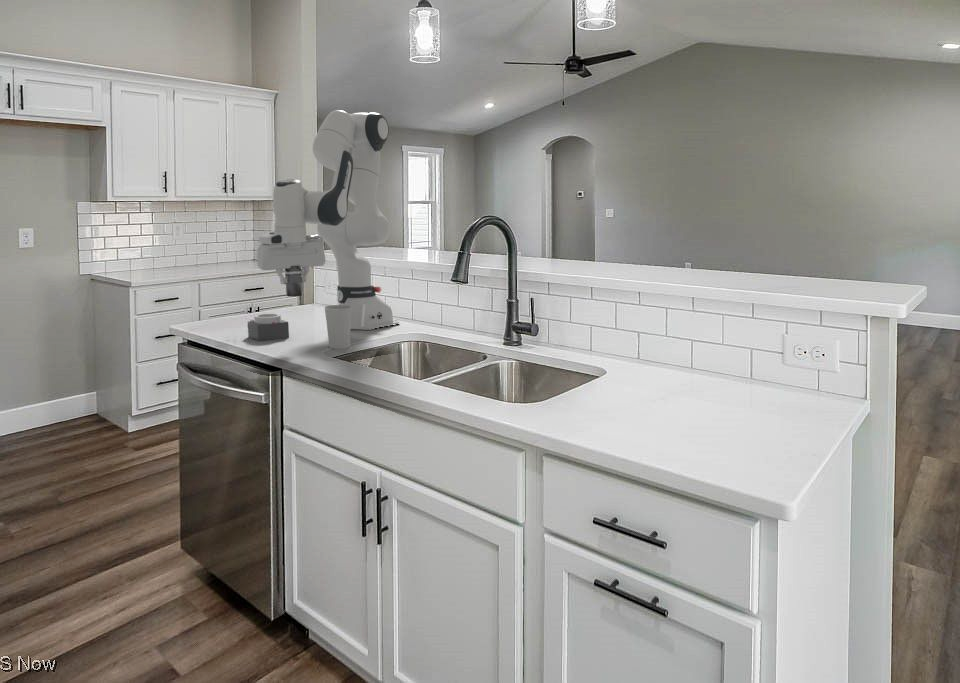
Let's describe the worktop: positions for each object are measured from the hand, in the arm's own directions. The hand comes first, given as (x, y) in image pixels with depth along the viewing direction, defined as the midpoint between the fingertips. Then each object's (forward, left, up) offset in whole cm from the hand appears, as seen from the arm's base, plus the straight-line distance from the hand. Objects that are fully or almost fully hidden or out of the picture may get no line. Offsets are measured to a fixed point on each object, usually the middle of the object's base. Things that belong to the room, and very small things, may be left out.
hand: (293, 283), depth 207 cm
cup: (-9, +11, -19) cm, 23 cm away
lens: (0, 0, -4) cm, 4 cm away
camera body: (+2, -15, -19) cm, 24 cm away
